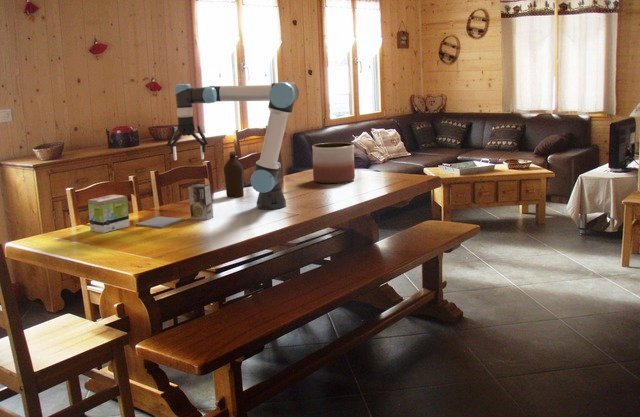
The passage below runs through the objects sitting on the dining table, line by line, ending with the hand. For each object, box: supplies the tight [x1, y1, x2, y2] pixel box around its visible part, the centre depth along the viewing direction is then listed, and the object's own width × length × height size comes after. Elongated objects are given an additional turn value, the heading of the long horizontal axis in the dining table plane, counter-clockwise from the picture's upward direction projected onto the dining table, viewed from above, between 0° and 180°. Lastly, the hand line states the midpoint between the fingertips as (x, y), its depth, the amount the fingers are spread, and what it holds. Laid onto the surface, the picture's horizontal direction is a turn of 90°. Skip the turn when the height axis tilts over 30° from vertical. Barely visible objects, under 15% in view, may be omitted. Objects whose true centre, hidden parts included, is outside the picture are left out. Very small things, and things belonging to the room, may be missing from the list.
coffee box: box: [187, 184, 214, 221], centre depth 324 cm, size 9×6×16 cm
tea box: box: [87, 194, 130, 234], centre depth 310 cm, size 15×10×15 cm
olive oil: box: [223, 150, 245, 199], centre depth 373 cm, size 11×11×25 cm
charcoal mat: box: [135, 216, 186, 229], centre depth 319 cm, size 16×16×1 cm
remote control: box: [243, 182, 253, 189], centre depth 409 cm, size 8×32×2 cm, turn 132°
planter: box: [311, 142, 356, 185], centre depth 410 cm, size 25×25×22 cm
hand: (189, 159), depth 332 cm, fingers open, 13 cm apart
